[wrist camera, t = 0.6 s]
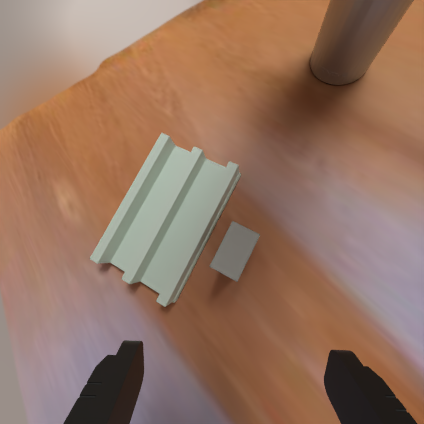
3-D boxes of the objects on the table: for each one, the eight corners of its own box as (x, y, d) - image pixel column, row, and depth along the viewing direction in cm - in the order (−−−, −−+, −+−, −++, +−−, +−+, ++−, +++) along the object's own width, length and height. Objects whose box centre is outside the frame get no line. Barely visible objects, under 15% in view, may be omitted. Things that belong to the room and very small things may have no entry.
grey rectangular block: (236, 232, 32) (232, 221, 21) (254, 241, 32) (260, 234, 20) (222, 261, 32) (209, 266, 20) (239, 271, 31) (237, 281, 20)
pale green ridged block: (169, 145, 37) (160, 132, 33) (240, 176, 34) (240, 165, 30) (106, 257, 35) (88, 257, 31) (176, 300, 32) (166, 308, 28)
